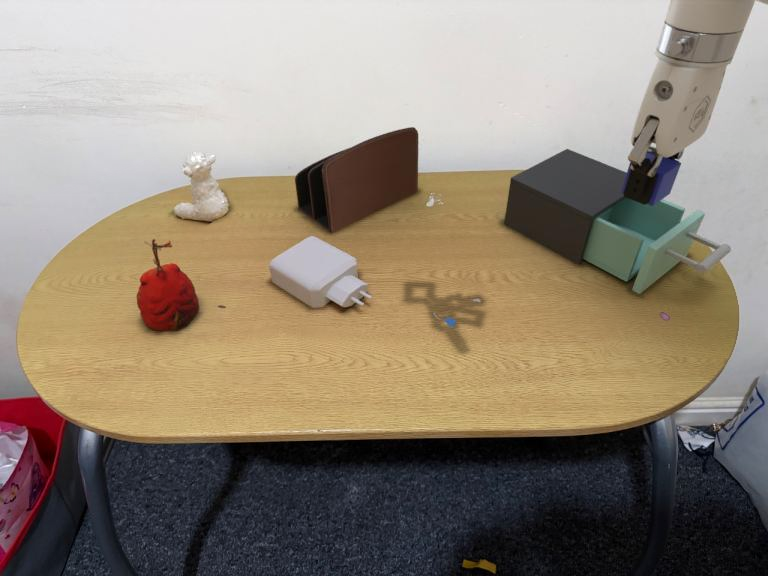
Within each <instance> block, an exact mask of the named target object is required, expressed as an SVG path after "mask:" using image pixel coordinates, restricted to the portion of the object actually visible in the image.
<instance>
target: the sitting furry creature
mask: <svg viewBox="0 0 768 576" xmlns="http://www.w3.org/2000/svg"><path fill="white" fill-rule="evenodd" d="M185 158H186V159H185V161H184V163H182V164H183V165H182V167H183V168H182V170H183V174H184V175H185V176H187V177H188V178H190V180H189V181H190V185H189V188H190V194H191V196H192V201H193V202H192V203H191V202H180V203H179V204H176V206H174V208H173V212H174V214H175V215H176V216H177V217H179V218H181V219H182V220H184V219H187V220H192V221H199V222H202V221H203V222H208V223H210V222H211V223H212V222H214V221H215V220H219V219H220V218H223V217H224V216H225V215H226V214H228V213H229V206H230V204H229V201H228V198H227V196H226V194H225V193H224V192H223V191H222V189H221V188H220V185H219V183H218V181H217V180H216V178H215V177H213V176H212V175H211V172H212V165H213V164H214V163H215V162H216V155H215V154H209V155H205V153H204V152H202V151H194V152H192V153H189V154H188V155H186V156H185Z"/></svg>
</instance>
